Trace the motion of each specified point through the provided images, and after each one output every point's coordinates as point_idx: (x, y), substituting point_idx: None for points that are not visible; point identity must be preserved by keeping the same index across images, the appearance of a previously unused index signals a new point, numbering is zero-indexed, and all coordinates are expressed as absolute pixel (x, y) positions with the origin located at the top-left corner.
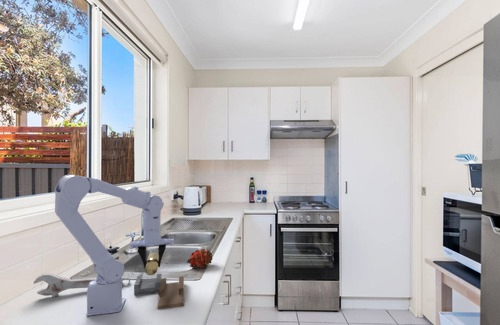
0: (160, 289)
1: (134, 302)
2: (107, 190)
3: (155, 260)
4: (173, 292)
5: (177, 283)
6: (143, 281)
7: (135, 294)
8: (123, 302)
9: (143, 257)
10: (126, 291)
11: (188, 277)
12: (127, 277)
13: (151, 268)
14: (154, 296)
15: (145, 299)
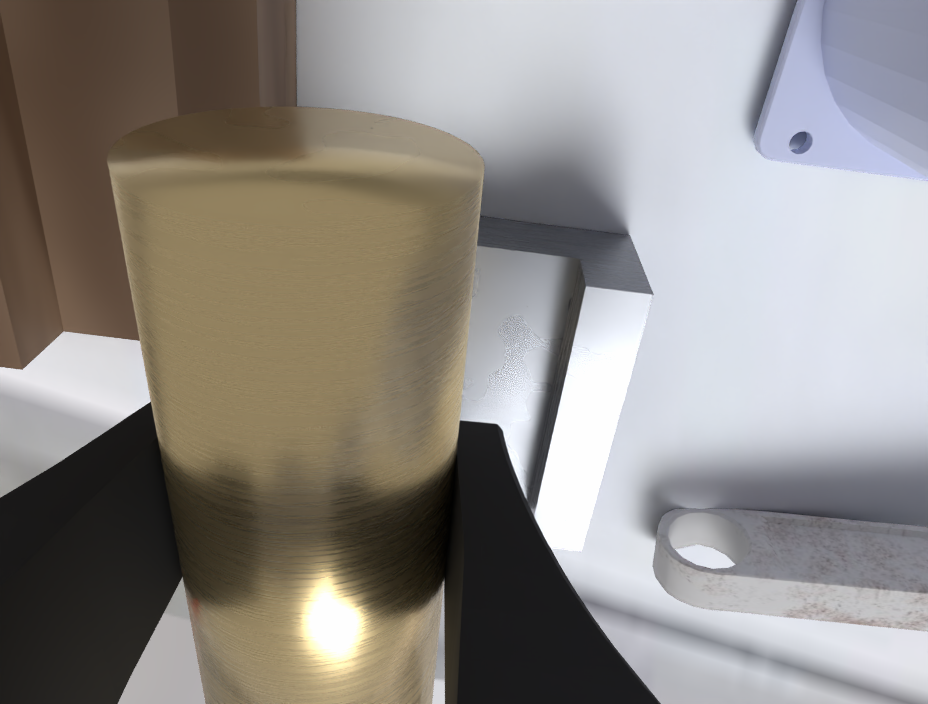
0: (239, 11)
1: (641, 16)
2: None
3: (184, 481)
4: (81, 27)
5: (77, 297)
6: (510, 450)
7: (614, 237)
8: (800, 18)
9: (520, 610)
10: (706, 370)
11: (2, 452)
12: (694, 587)
13: (292, 159)
14: (371, 98)
15: (490, 52)
